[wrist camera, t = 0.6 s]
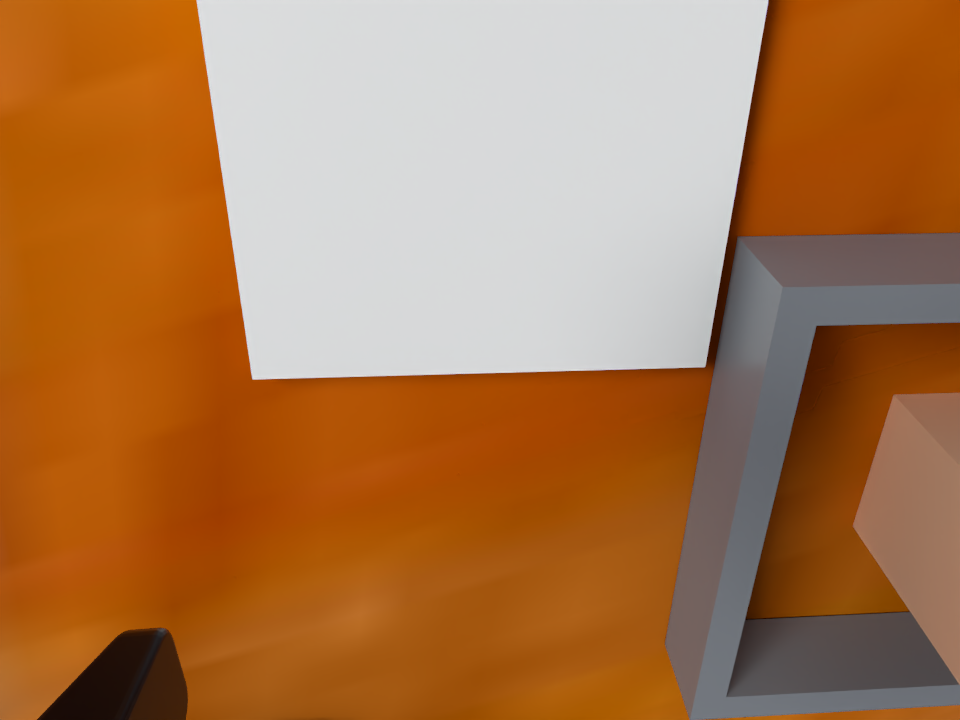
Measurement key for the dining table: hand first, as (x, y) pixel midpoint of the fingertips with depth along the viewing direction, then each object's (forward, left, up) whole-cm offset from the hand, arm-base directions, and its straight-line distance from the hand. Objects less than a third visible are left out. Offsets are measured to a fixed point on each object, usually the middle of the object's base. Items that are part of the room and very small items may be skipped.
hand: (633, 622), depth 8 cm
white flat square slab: (+1, 0, -14) cm, 14 cm away
